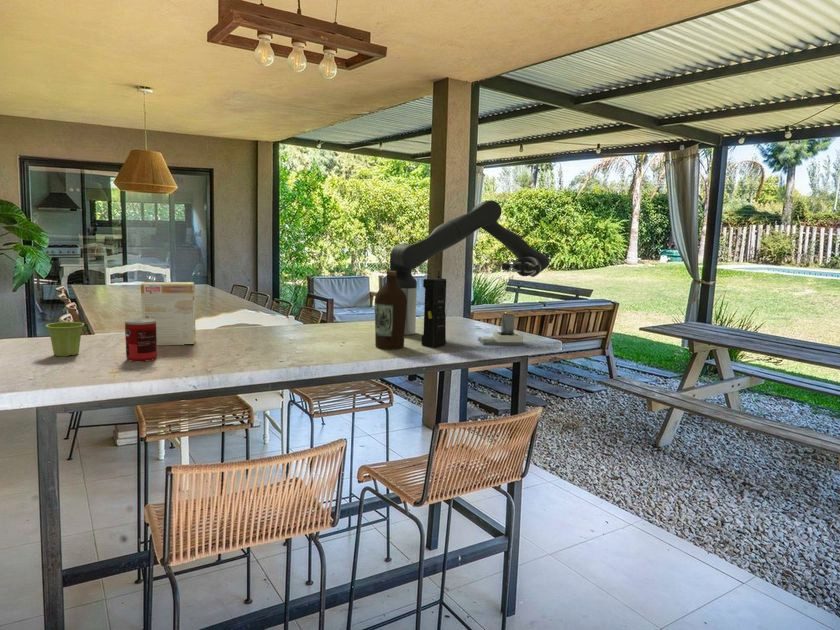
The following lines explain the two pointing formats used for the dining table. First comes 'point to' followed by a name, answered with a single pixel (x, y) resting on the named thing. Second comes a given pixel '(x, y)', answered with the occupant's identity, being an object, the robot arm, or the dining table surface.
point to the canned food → (141, 339)
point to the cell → (507, 323)
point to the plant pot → (65, 337)
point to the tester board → (502, 339)
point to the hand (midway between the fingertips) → (517, 268)
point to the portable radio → (434, 312)
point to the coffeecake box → (170, 311)
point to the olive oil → (390, 314)
